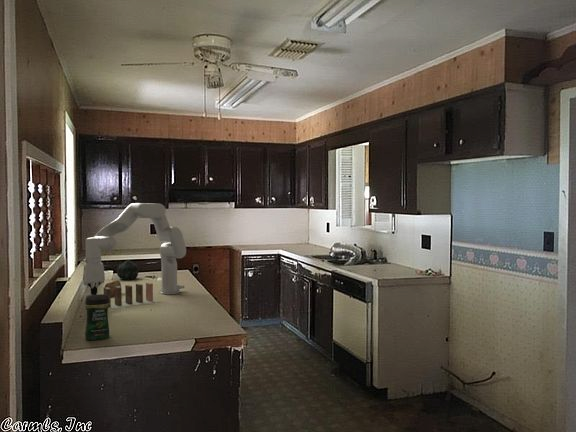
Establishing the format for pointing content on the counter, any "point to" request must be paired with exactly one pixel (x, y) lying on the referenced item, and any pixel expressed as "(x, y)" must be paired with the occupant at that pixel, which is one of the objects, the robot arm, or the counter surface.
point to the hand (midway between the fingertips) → (94, 295)
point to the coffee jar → (97, 317)
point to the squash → (127, 270)
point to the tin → (113, 286)
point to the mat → (131, 304)
